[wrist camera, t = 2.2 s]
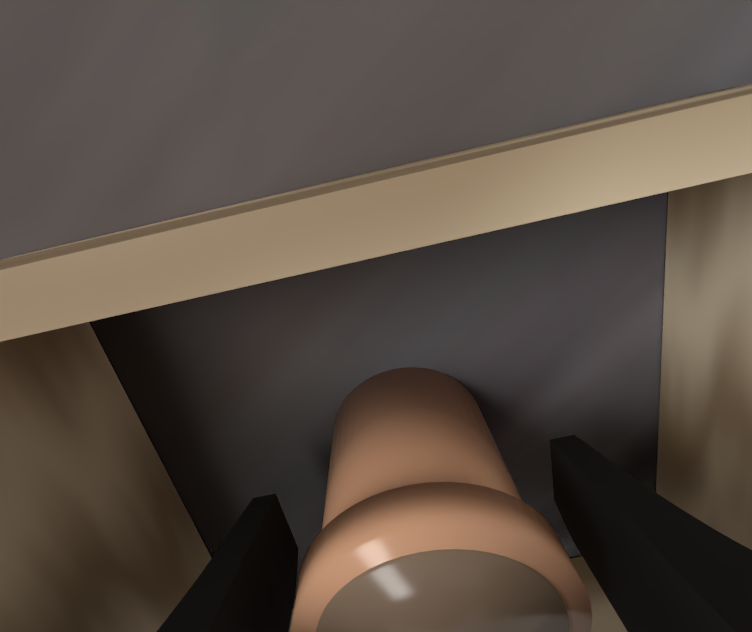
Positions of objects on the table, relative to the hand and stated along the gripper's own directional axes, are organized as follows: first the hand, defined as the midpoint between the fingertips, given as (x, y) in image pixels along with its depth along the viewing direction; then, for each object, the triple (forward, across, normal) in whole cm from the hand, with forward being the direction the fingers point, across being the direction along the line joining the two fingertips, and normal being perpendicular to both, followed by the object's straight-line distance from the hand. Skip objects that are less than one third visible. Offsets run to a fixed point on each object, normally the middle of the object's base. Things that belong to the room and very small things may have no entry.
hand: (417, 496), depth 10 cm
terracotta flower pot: (+3, 0, 0) cm, 3 cm away
